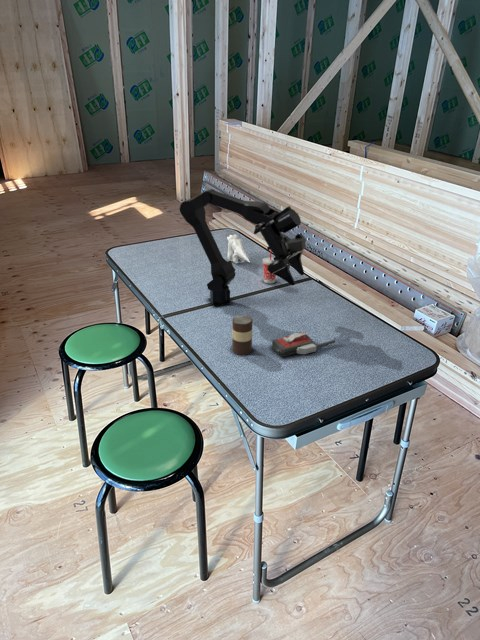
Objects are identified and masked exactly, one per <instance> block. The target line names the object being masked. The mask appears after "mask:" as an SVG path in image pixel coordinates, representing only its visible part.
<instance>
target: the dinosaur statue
mask: <svg viewBox="0 0 480 640" xmlns="http://www.w3.org/2000/svg"><path fill="white" fill-rule="evenodd" d="M226 239H227V242H228V244H227V253H226V255H227V261H230V260H231V262H232V263H234V264H239V261H240V262H241V263H245V262H248V263H251V261H250V259H249V257H248V254H247V253H246V250H245V248H244V247H243V240H242V239H241V238H240V236H239V235H237V234H236V233H234V234H229V236H226Z"/></svg>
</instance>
